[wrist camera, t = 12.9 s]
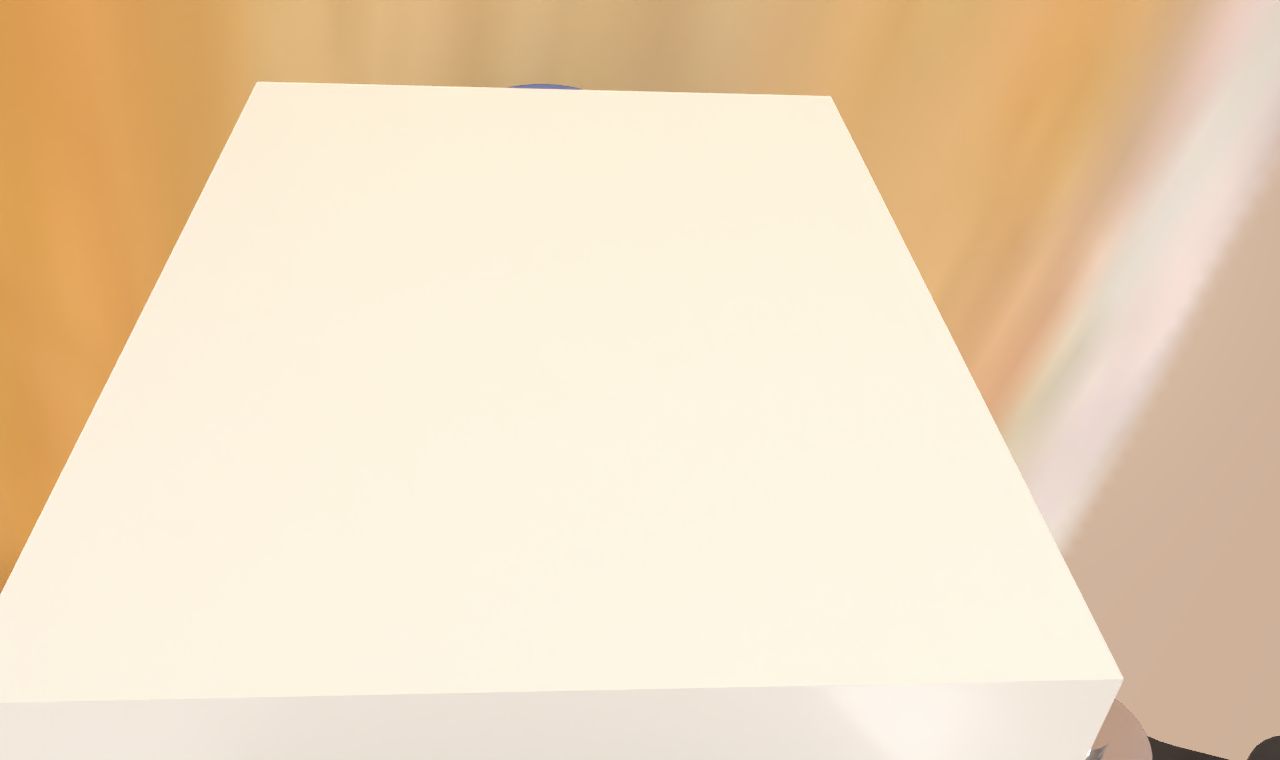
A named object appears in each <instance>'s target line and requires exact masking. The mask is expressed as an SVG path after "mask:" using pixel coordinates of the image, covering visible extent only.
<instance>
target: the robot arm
mask: <svg viewBox="0 0 1280 760" xmlns="http://www.w3.org/2000/svg"><path fill="white" fill-rule="evenodd" d="M1086 760H1228V759H1224V758H1219V757H1216V756H1212V755H1208V754H1204V753H1200V752H1196V751H1192V750H1188V749H1184V748H1180V747H1176V746H1173V745H1170V744H1167V743H1163V742H1160V741H1158V740H1155V739H1153V738H1151V737H1148V736H1147V735H1146V733H1145V731H1144V729H1143V728H1142V726H1141V724H1140V723H1139V722H1138V720H1137V719H1136V718H1135V717H1134V715H1133V714H1132V713H1131V712H1130V711H1129V710H1128V709H1127V708H1126V707H1125V706H1124V705H1123V704H1122V703H1120V702H1119V701H1118V700H1116V699H1114V701H1113V703H1112V705H1111V707H1110V709H1109V711H1108V714H1107V716H1106V718H1105V720H1104V722H1103V724H1102V726H1101V728H1100V730H1099V733H1098V735H1097V737H1096V739H1095V741H1094V743H1093V745H1092V747H1091V749H1090V752H1089V754H1088V756H1087V758H1086ZM1247 760H1280V736H1276V737H1272V738H1270V739H1267V740H1265V741H1263V742H1262V743H1260V744H1259V745H1257V746H1256V747H1255V749H1254V750H1253V751H1252V753H1251V754H1250V756H1249V757H1248V759H1247Z"/></svg>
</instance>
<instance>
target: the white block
mask: <svg viewBox="0 0 1280 760" xmlns="http://www.w3.org/2000/svg"><path fill="white" fill-rule="evenodd" d="M1123 680H1124V679H1123V677H1122V675H1121V673H1120V671H1119V669H1118V667H1117V665H1116V663H1115V661H1114V659H1113V657H1112V655H1111V653H1110V651H1109V649H1108V647H1107V645H1106V643H1105V641H1104V639H1103V637H1102V635H1101V633H1100V631H1099V629H1098V627H1097V625H1096V623H1095V621H1094V619H1093V617H1092V615H1091V613H1090V611H1089V609H1088V607H1087V605H1086V603H1085V601H1084V599H1083V597H1082V595H1081V593H1080V591H1079V589H1078V587H1077V585H1076V583H1075V581H1074V579H1073V577H1072V575H1071V573H1070V571H1069V569H1068V567H1067V565H1066V563H1065V561H1064V559H1063V557H1062V555H1061V553H1060V551H1059V549H1058V547H1057V545H1056V543H1055V541H1054V539H1053V537H1052V535H1051V533H1050V531H1049V529H1048V527H1047V525H1046V523H1045V521H1044V519H1043V517H1042V515H1041V513H1040V511H1039V509H1038V507H1037V505H1036V503H1035V502H1034V500H1033V498H1032V496H1031V494H1030V492H1029V490H1028V488H1027V486H1026V484H1025V482H1024V480H1023V478H1022V476H1021V474H1020V472H1019V470H1018V468H1017V466H1016V464H1015V462H1014V460H1013V458H1012V456H1011V454H1010V452H1009V450H1008V448H1007V446H1006V444H1005V442H1004V440H1003V438H1002V436H1001V434H1000V432H999V430H998V428H997V426H996V424H995V422H994V420H993V418H992V416H991V414H990V412H989V410H988V408H987V406H986V404H985V402H984V400H983V398H982V396H981V394H980V392H979V390H978V388H977V386H976V384H975V382H974V380H973V378H972V376H971V374H970V372H969V370H968V368H967V366H966V364H965V362H964V360H963V358H962V356H961V354H960V352H959V350H958V348H957V346H956V344H955V342H954V340H953V338H952V336H951V334H950V332H949V330H948V328H947V326H946V325H945V323H944V321H943V319H942V317H941V315H940V313H939V311H938V309H937V307H936V305H935V303H934V301H933V299H932V297H931V295H930V293H929V291H928V289H927V287H926V285H925V283H924V281H923V279H922V277H921V275H920V273H919V271H918V269H917V267H916V265H915V263H914V261H913V259H912V257H911V255H910V253H909V251H908V249H907V247H906V245H905V243H904V241H903V239H902V237H901V235H900V233H899V231H898V229H897V227H896V225H895V223H894V221H893V219H892V217H891V215H890V213H889V211H888V209H887V207H886V205H885V203H884V201H883V199H882V197H881V195H880V193H879V191H878V189H877V187H876V185H875V183H874V181H873V179H872V177H871V175H870V173H869V171H868V169H867V167H866V165H865V163H864V161H863V159H862V157H861V155H860V153H859V151H858V149H857V148H856V146H855V144H854V142H853V140H852V138H851V136H850V134H849V132H848V130H847V128H846V126H845V124H844V122H843V120H842V118H841V116H840V114H839V112H838V110H837V108H836V106H835V104H834V102H833V100H832V98H831V96H804V95H765V94H725V93H686V92H647V91H608V90H568V89H529V88H490V87H450V86H411V85H372V84H333V83H293V82H257V83H256V85H255V87H254V89H253V91H252V93H251V95H250V97H249V99H248V101H247V103H246V105H245V107H244V109H243V111H242V113H241V115H240V117H239V119H238V121H237V123H236V125H235V127H234V129H233V131H232V133H231V135H230V137H229V139H228V141H227V143H226V145H225V147H224V149H223V151H222V153H221V155H220V157H219V159H218V161H217V163H216V165H215V167H214V169H213V171H212V173H211V175H210V177H209V179H208V181H207V183H206V185H205V187H204V189H203V191H202V193H201V195H200V197H199V199H198V201H197V203H196V205H195V207H194V209H193V211H192V213H191V215H190V217H189V219H188V221H187V223H186V225H185V227H184V229H183V231H182V233H181V235H180V237H179V239H178V241H177V243H176V245H175V247H174V249H173V251H172V253H171V255H170V257H169V259H168V261H167V263H166V265H165V267H164V269H163V271H162V273H161V275H160V277H159V279H158V281H157V283H156V285H155V287H154V289H153V291H152V293H151V295H150V297H149V299H148V301H147V303H146V305H145V307H144V309H143V311H142V313H141V315H140V317H139V319H138V321H137V323H136V325H135V327H134V329H133V331H132V333H131V335H130V337H129V339H128V341H127V343H126V345H125V347H124V349H123V351H122V353H121V355H120V357H119V359H118V361H117V363H116V365H115V367H114V369H113V371H112V373H111V375H110V377H109V379H108V381H107V383H106V385H105V387H104V389H103V391H102V393H101V395H100V397H99V399H98V401H97V403H96V405H95V407H94V409H93V411H92V413H91V415H90V417H89V419H88V421H87V423H86V425H85V427H84V429H83V431H82V433H81V435H80V437H79V439H78V441H77V443H76V445H75V447H74V449H73V451H72V453H71V455H70V457H69V459H68V461H67V463H66V465H65V467H64V469H63V471H62V473H61V475H60V477H59V479H58V481H57V483H56V485H55V487H54V489H53V491H52V493H51V495H50V497H49V499H48V501H47V503H46V505H45V507H44V509H43V511H42V513H41V515H40V517H39V519H38V521H37V523H36V525H35V527H34V529H33V531H32V533H31V535H30V537H29V539H28V541H27V543H26V545H25V547H24V549H23V551H22V553H21V555H20V557H19V559H18V561H17V563H16V565H15V567H14V569H13V571H12V573H11V575H10V577H9V579H8V581H7V583H6V585H5V587H4V589H3V591H2V593H1V595H0V760H1086V758H1087V756H1088V754H1089V752H1090V749H1091V747H1092V745H1093V743H1094V741H1095V739H1096V737H1097V735H1098V733H1099V730H1100V728H1101V726H1102V724H1103V722H1104V720H1105V718H1106V716H1107V714H1108V711H1109V709H1110V707H1111V705H1112V703H1113V701H1114V699H1115V697H1116V694H1117V692H1118V690H1119V688H1120V686H1121V684H1122V682H1123Z"/></svg>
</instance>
